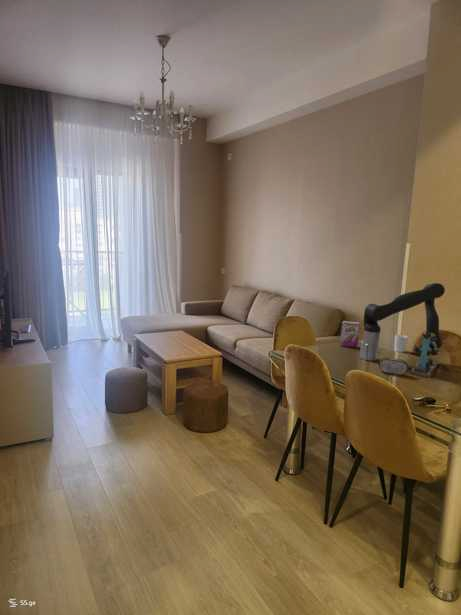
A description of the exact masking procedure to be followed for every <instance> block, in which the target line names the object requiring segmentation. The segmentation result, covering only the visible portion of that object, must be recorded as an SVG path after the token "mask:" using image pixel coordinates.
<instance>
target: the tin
mask: <svg viewBox="0 0 461 615" xmlns="http://www.w3.org/2000/svg"><path fill="white" fill-rule="evenodd" d="M378 367H379V369H380V371H381V372H382V373H385V374H390V375H397V376H403V375H406V374H407V373H408V370H409V364H408V362H407V361H405V360H403V359H399V358H393V357H383V358H381V359H380V360H379V362H378Z"/></svg>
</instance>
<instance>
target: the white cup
mask: <svg viewBox="0 0 461 615" xmlns="http://www.w3.org/2000/svg"><path fill="white" fill-rule="evenodd" d="M408 338H409V337H408V335H404V334H395V335H394V346H393V347H394V348H393V350H394V351H395V352H397V353H398V352H399V353H405V352H406V349H407V343H408Z"/></svg>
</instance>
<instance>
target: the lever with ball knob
mask: <svg viewBox="0 0 461 615" xmlns="http://www.w3.org/2000/svg"><path fill="white" fill-rule="evenodd" d="M431 337H432V333H430V332H427V331H424V332H423V333H422V343H421V345H422V349H421V355H420V356H419V359H420V362H419V364H418V366H417V367H416V369H415V371H419V372H424V373H427V372H428V371H429V369H430V367H429V365H430V363H427V357H428V358H429V356H427V352H428V350H429V343H430V338H431Z"/></svg>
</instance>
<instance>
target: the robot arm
mask: <svg viewBox="0 0 461 615" xmlns="http://www.w3.org/2000/svg"><path fill="white" fill-rule="evenodd" d="M445 291H446V288H445V286H444V285H443V284H442V283H439V282H438V283H437V282H433V283H430V284H426V285H425V286H424V287H423V289H419V290H414V291H409V292H406V293H403V294H399V295H398V296H396V297H395V298H394V299H393V300H392V301H391V302H388V303H386V304H382V305H378V304H376V303H369V304H367V305H366V307H365V308H364V312H363V335H362V341H361V342H360V347H359V348H360V349H359V358H360V359H362V360H364V361H371V362H373V361H377V360H378V352H379V343H380V335H381V326H380V325H379V323H378V322H380V321H382V320H385V319H386V318H388V317H390V316H392V315H394V314H398V313H401V312H403V311H406V310H409V309H411V308H413V307H416V306H418V305H421V304H422V303H424V308H425V314H426V315H425V317H426V318H425V321H426V324H425V328H426V330H425V332H430V333H431V334H434V336H431V338H430V343H429V350H428V352H427V356H428V357H429V356H433V357H434V356H439V355H440V348H441V347H442V346H443V341H442V337H441V333H440V318H439V314H438V313H437V312H438V311H437V310H436V307H435V299H439V298H441V297H442V296H444V294H445ZM421 349H422V344H421V345H420V346H419V347H418V346H417V345H413V351H414V353H417V354H418V355H420V356H421Z"/></svg>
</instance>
